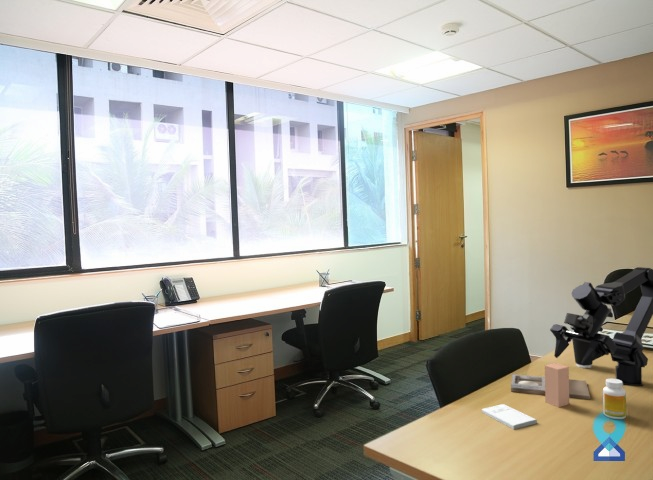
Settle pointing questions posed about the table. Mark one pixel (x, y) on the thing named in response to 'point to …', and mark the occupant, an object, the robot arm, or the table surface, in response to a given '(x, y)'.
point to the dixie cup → (581, 352)
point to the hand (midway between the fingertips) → (568, 360)
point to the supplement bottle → (614, 399)
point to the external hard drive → (509, 416)
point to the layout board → (538, 386)
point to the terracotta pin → (557, 384)
